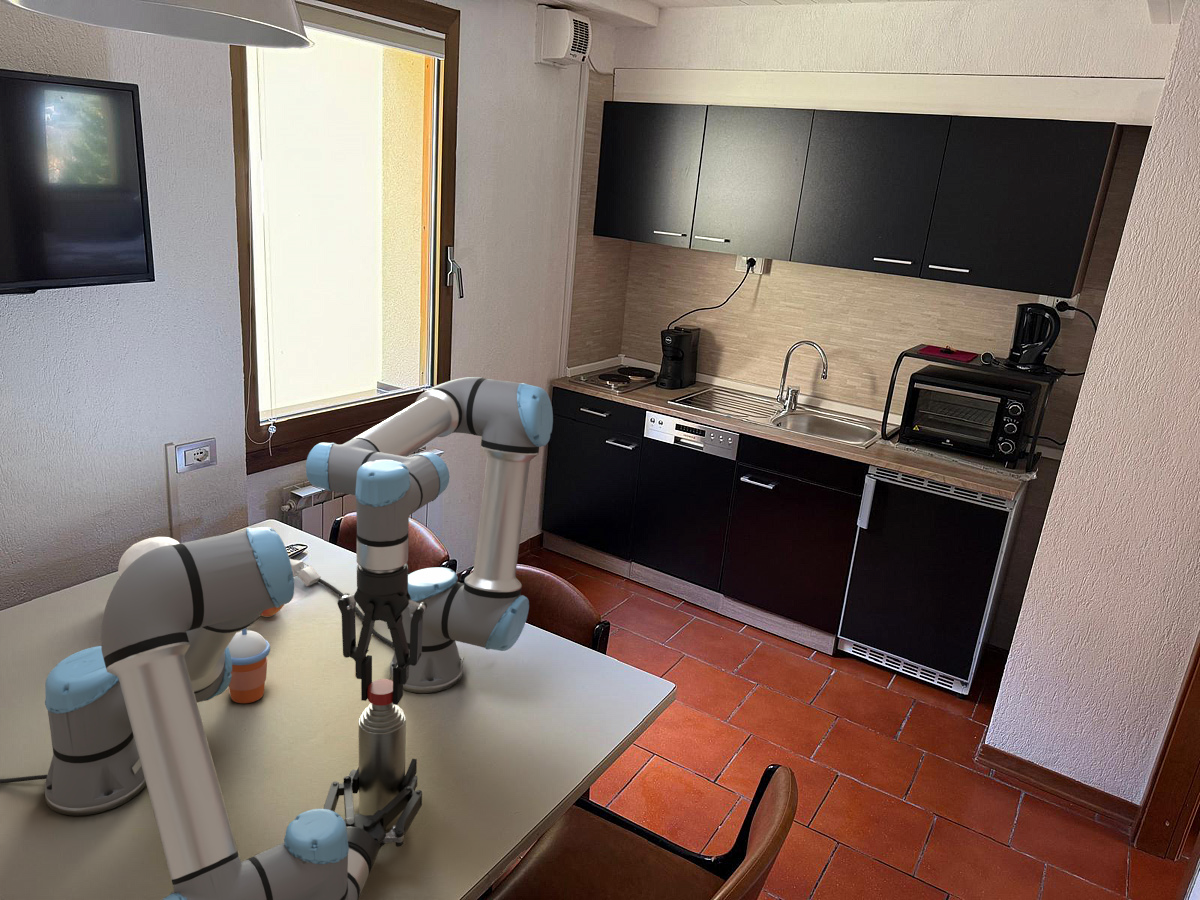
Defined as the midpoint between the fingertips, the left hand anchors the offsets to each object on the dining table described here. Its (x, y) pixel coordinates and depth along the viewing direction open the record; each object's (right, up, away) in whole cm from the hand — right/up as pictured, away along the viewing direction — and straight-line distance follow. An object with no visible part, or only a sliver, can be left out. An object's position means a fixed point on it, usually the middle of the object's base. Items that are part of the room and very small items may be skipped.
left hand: (390, 763), depth 145 cm
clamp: (-45, +20, +76) cm, 91 cm away
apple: (-43, +14, +56) cm, 72 cm away
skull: (-67, +17, +58) cm, 91 cm away
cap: (+1, +15, -10) cm, 18 cm away
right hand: (+1, +14, -9) cm, 17 cm away
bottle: (-1, -8, -3) cm, 8 cm away
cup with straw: (-35, +4, +26) cm, 43 cm away
